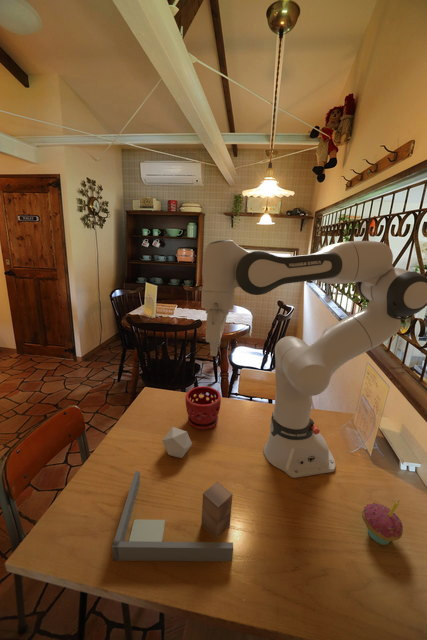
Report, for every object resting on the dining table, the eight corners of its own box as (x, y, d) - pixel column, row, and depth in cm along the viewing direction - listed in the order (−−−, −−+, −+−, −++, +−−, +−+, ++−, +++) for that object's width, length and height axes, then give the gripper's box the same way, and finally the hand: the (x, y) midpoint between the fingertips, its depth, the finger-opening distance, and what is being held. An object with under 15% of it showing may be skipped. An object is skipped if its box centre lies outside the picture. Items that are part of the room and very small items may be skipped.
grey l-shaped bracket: (226, 484, 81) (227, 473, 80) (232, 561, 62) (233, 548, 61) (135, 482, 80) (135, 471, 79) (113, 560, 61) (112, 547, 60)
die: (196, 450, 94) (187, 420, 96) (192, 457, 85) (182, 424, 88) (172, 459, 94) (163, 429, 96) (166, 466, 85) (156, 433, 88)
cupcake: (393, 525, 72) (404, 488, 68) (403, 559, 64) (416, 520, 60) (356, 513, 74) (365, 477, 71) (361, 545, 66) (372, 506, 63)
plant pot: (190, 409, 115) (191, 383, 112) (221, 414, 113) (223, 388, 109) (180, 430, 103) (181, 401, 99) (215, 436, 100) (217, 407, 97)
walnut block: (215, 511, 73) (217, 481, 70) (229, 525, 70) (232, 493, 67) (201, 524, 69) (202, 493, 66) (216, 539, 66) (218, 507, 63)
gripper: (227, 306, 66) (224, 363, 68) (230, 298, 86) (228, 342, 88) (200, 305, 66) (198, 361, 69) (210, 297, 86) (208, 340, 89)
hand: (215, 350), depth 79 cm, fingers open, 8 cm apart
